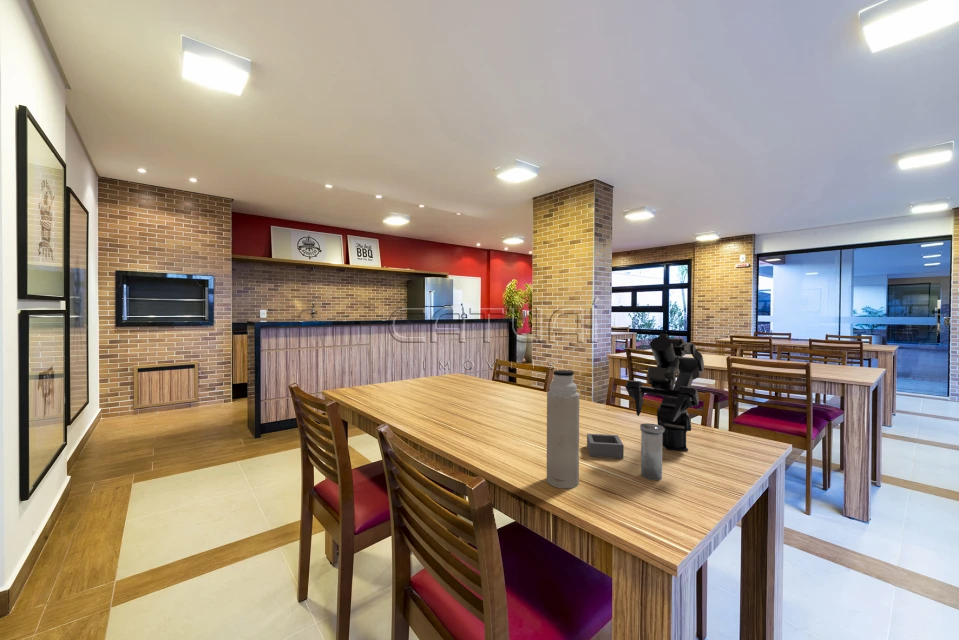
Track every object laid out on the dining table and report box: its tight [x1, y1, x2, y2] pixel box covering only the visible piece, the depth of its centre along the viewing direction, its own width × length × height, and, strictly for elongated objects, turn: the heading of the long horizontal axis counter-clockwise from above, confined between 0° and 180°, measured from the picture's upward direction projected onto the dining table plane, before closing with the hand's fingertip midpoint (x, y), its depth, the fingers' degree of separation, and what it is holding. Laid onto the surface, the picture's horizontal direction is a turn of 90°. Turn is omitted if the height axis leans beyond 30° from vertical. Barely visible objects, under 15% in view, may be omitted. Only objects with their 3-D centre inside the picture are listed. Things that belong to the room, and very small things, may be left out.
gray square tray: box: [586, 433, 625, 460], centre depth 117 cm, size 9×9×4 cm
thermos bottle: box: [546, 369, 580, 489], centre depth 96 cm, size 8×8×28 cm
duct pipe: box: [639, 422, 664, 481], centre depth 99 cm, size 6×6×13 cm
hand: (654, 418), depth 106 cm, fingers open, 9 cm apart
